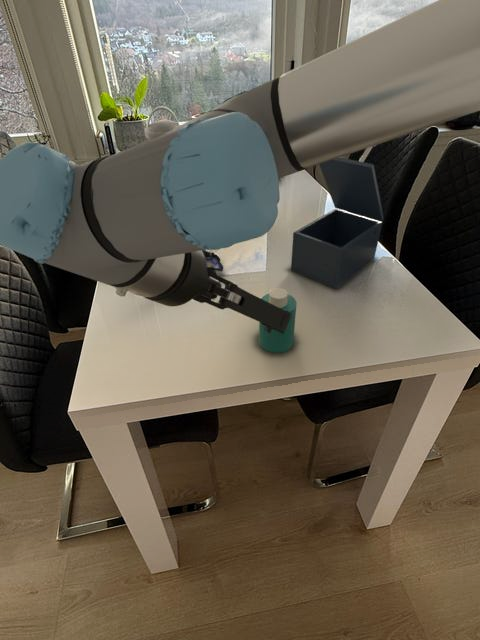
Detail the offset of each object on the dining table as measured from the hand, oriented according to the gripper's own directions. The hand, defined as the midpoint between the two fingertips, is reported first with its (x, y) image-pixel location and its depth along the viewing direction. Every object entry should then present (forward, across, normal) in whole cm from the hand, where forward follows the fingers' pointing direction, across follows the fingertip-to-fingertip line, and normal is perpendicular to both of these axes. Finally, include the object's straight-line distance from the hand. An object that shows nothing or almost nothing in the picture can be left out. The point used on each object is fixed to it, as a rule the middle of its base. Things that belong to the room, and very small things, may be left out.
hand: (246, 307), depth 56 cm
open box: (+38, -4, +19) cm, 43 cm away
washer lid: (+28, -3, +34) cm, 44 cm away
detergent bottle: (+16, 0, -3) cm, 16 cm away
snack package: (+24, -29, +5) cm, 38 cm away
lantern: (+54, -81, +34) cm, 103 cm away
